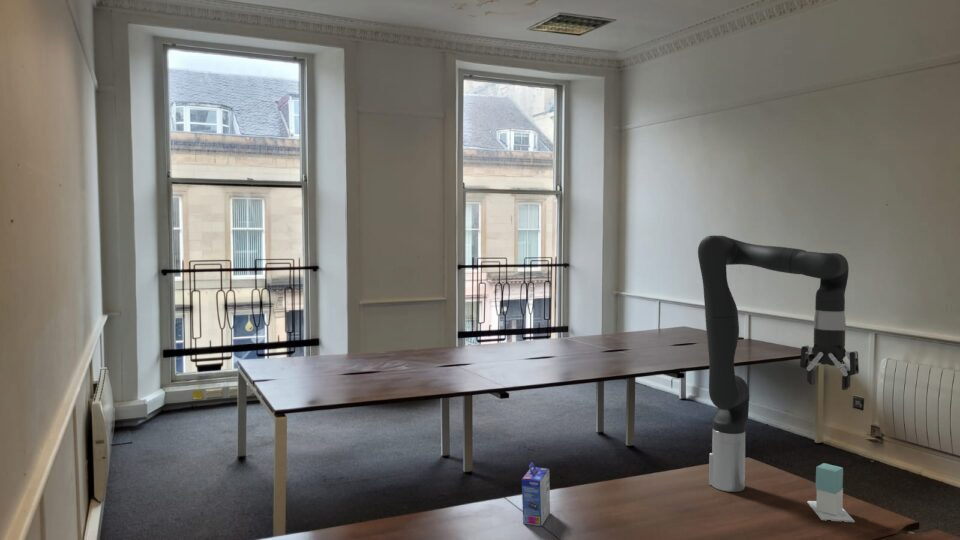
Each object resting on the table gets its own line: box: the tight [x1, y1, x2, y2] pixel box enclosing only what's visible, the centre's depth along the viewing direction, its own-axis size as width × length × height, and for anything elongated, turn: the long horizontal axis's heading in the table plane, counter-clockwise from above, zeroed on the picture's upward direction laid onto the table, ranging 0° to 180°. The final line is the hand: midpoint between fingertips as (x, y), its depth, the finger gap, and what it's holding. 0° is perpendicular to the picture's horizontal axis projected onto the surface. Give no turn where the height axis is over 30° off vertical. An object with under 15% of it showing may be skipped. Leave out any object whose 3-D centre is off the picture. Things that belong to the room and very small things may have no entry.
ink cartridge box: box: [521, 461, 551, 527], centre depth 180 cm, size 10×6×14 cm, turn 161°
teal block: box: [815, 462, 844, 494], centre depth 183 cm, size 5×5×6 cm
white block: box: [816, 487, 844, 515], centre depth 184 cm, size 5×5×6 cm
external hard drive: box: [807, 500, 855, 523], centre depth 184 cm, size 2×8×12 cm
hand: (828, 387), depth 183 cm, fingers open, 8 cm apart
